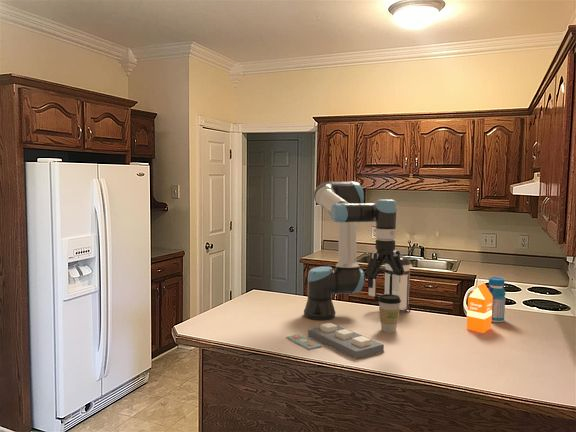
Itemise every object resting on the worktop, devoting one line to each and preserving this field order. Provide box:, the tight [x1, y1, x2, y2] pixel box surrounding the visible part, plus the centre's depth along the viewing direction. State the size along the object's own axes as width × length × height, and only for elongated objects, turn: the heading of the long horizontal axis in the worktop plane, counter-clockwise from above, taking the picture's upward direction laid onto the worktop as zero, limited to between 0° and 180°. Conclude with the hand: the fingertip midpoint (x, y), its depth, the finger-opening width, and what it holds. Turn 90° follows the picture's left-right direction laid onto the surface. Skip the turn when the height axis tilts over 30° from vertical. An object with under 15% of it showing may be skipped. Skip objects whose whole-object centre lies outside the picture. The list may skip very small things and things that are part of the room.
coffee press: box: [373, 251, 413, 314], centre depth 241 cm, size 17×16×30 cm
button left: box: [319, 322, 338, 333], centre depth 201 cm, size 5×5×4 cm
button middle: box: [336, 328, 354, 340], centre depth 193 cm, size 5×5×4 cm
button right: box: [352, 335, 371, 348], centre depth 184 cm, size 5×5×4 cm
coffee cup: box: [377, 294, 401, 333], centre depth 210 cm, size 10×10×15 cm
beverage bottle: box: [487, 276, 506, 323], centre depth 227 cm, size 8×8×20 cm
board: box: [307, 323, 385, 360], centre depth 193 cm, size 30×14×3 cm, turn 34°
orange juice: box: [466, 282, 493, 334], centre depth 213 cm, size 8×9×20 cm
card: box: [285, 334, 322, 351], centre depth 194 cm, size 16×6×1 cm, turn 34°
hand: (384, 293), depth 187 cm, fingers open, 13 cm apart
